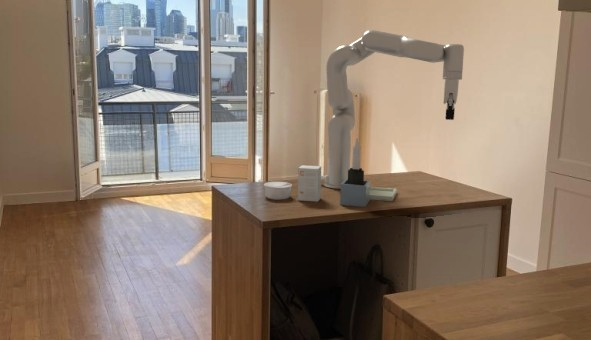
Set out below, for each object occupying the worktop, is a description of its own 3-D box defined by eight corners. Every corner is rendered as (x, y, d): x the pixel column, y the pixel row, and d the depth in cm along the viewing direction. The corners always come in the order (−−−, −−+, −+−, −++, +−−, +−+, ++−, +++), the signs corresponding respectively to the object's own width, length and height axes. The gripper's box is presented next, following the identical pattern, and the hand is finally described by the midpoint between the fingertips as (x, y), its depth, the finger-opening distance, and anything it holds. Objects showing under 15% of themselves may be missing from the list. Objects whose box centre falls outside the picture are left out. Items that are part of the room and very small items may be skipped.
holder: (340, 204, 227) (340, 184, 226) (344, 199, 236) (345, 179, 235) (365, 206, 225) (366, 185, 223) (369, 201, 234) (369, 180, 233)
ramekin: (292, 200, 234) (292, 187, 233) (263, 200, 233) (263, 187, 232) (290, 194, 245) (291, 181, 244) (263, 194, 244) (263, 181, 243)
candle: (352, 205, 227) (354, 139, 223) (345, 201, 232) (347, 137, 227) (364, 203, 229) (366, 139, 225) (357, 200, 234) (359, 137, 229)
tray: (354, 198, 238) (354, 193, 238) (360, 190, 252) (360, 186, 252) (392, 201, 234) (392, 196, 234) (396, 193, 249) (396, 188, 248)
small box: (321, 198, 237) (321, 166, 235) (317, 202, 231) (318, 168, 229) (301, 197, 239) (301, 164, 237) (297, 200, 233) (297, 167, 231)
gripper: (443, 75, 249) (441, 116, 252) (442, 76, 233) (439, 120, 236) (462, 75, 247) (459, 116, 250) (462, 76, 231) (459, 121, 234)
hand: (449, 118), depth 243 cm, fingers open, 9 cm apart
